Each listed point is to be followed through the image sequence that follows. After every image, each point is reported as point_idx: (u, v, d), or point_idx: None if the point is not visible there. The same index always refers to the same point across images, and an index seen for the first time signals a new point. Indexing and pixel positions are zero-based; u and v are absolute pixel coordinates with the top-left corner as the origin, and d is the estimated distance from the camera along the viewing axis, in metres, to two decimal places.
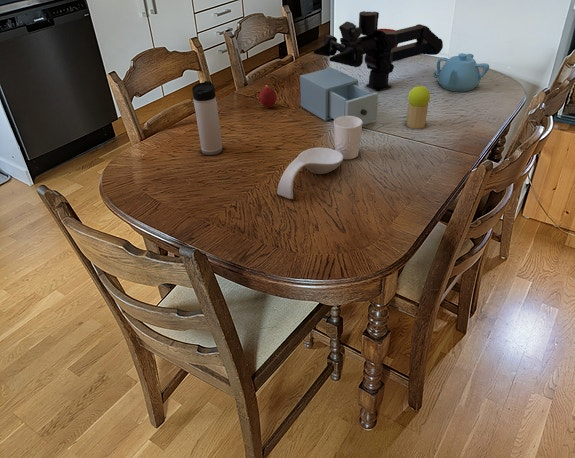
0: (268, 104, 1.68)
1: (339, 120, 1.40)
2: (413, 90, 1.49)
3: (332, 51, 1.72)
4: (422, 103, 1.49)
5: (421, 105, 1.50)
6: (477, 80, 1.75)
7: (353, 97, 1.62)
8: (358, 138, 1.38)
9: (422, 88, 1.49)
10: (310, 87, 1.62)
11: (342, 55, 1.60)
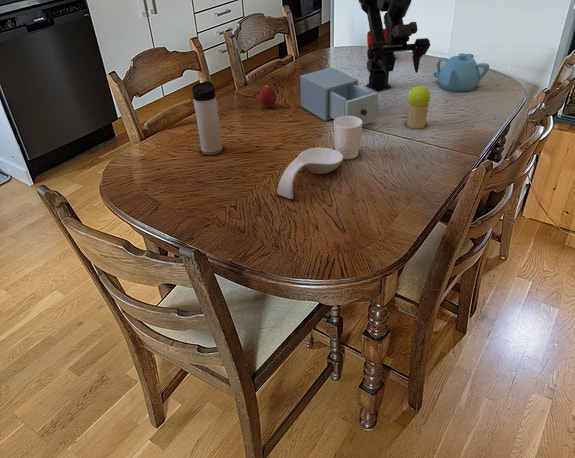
0: (268, 104, 1.68)
1: (339, 120, 1.40)
2: (413, 90, 1.49)
3: None
4: (422, 103, 1.49)
5: (421, 105, 1.50)
6: (477, 80, 1.75)
7: (353, 97, 1.62)
8: (358, 138, 1.38)
9: (422, 88, 1.49)
10: (310, 87, 1.62)
11: None
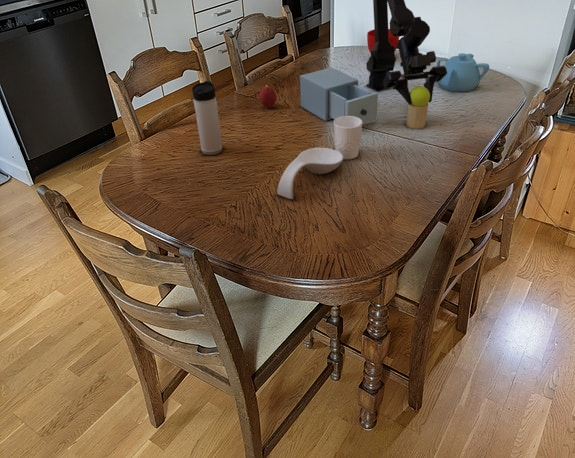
0: (268, 104, 1.68)
1: (339, 120, 1.40)
2: (413, 90, 1.49)
3: None
4: (422, 103, 1.49)
5: (421, 105, 1.50)
6: (477, 80, 1.75)
7: (353, 97, 1.62)
8: (358, 138, 1.38)
9: (422, 88, 1.49)
10: (310, 87, 1.62)
11: None
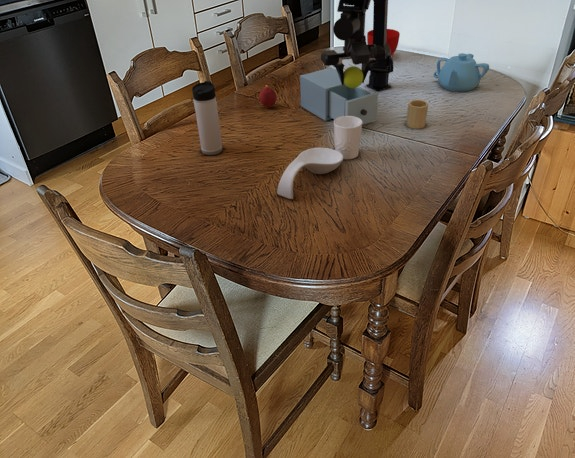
0: (268, 104, 1.68)
1: (339, 120, 1.40)
2: (347, 74, 1.49)
3: None
4: None
5: None
6: (477, 80, 1.75)
7: (353, 97, 1.62)
8: (358, 138, 1.38)
9: (356, 75, 1.49)
10: (310, 87, 1.62)
11: None
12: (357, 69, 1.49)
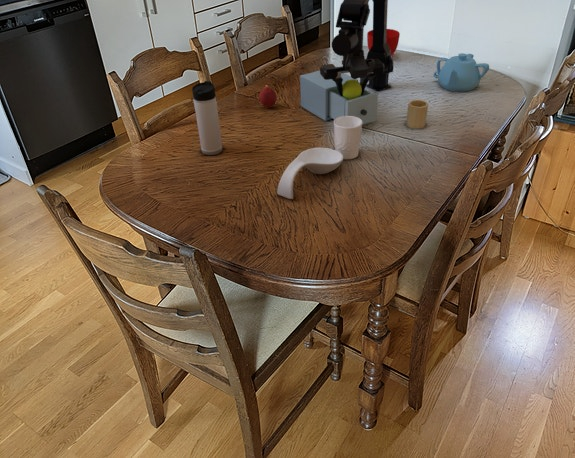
0: (268, 104, 1.68)
1: (339, 120, 1.40)
2: (346, 87, 1.52)
3: None
4: None
5: None
6: (477, 80, 1.75)
7: None
8: (358, 138, 1.38)
9: (355, 88, 1.51)
10: (310, 87, 1.62)
11: None
12: (355, 82, 1.52)
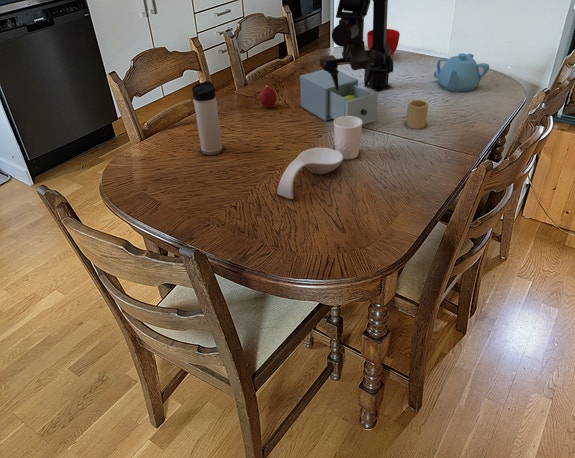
0: (268, 104, 1.68)
1: (339, 120, 1.40)
2: None
3: None
4: None
5: None
6: (477, 80, 1.75)
7: None
8: (358, 138, 1.38)
9: None
10: (310, 87, 1.62)
11: None
12: (353, 98, 1.55)
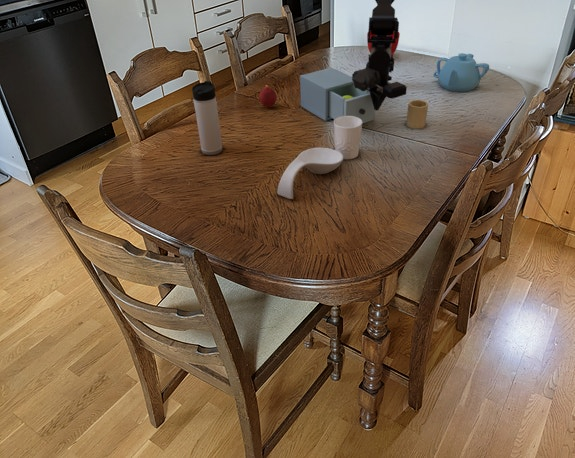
0: (268, 104, 1.68)
1: (339, 120, 1.40)
2: None
3: None
4: None
5: None
6: (477, 80, 1.75)
7: (352, 96, 1.62)
8: (358, 138, 1.38)
9: None
10: (310, 87, 1.62)
11: (378, 99, 1.50)
12: None
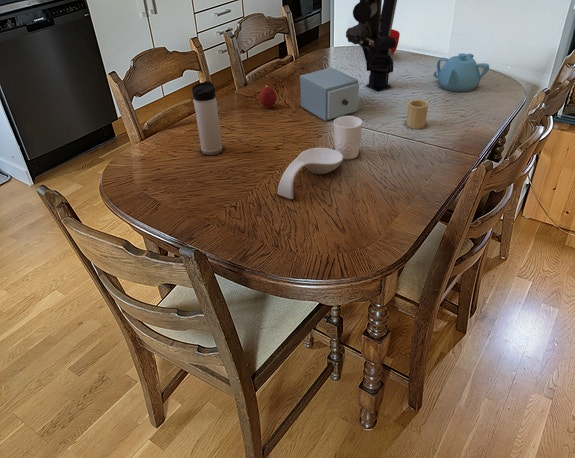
0: (268, 104, 1.68)
1: (339, 120, 1.40)
2: None
3: None
4: None
5: None
6: (477, 80, 1.75)
7: None
8: (358, 138, 1.38)
9: None
10: (310, 87, 1.62)
11: (370, 53, 1.61)
12: None
